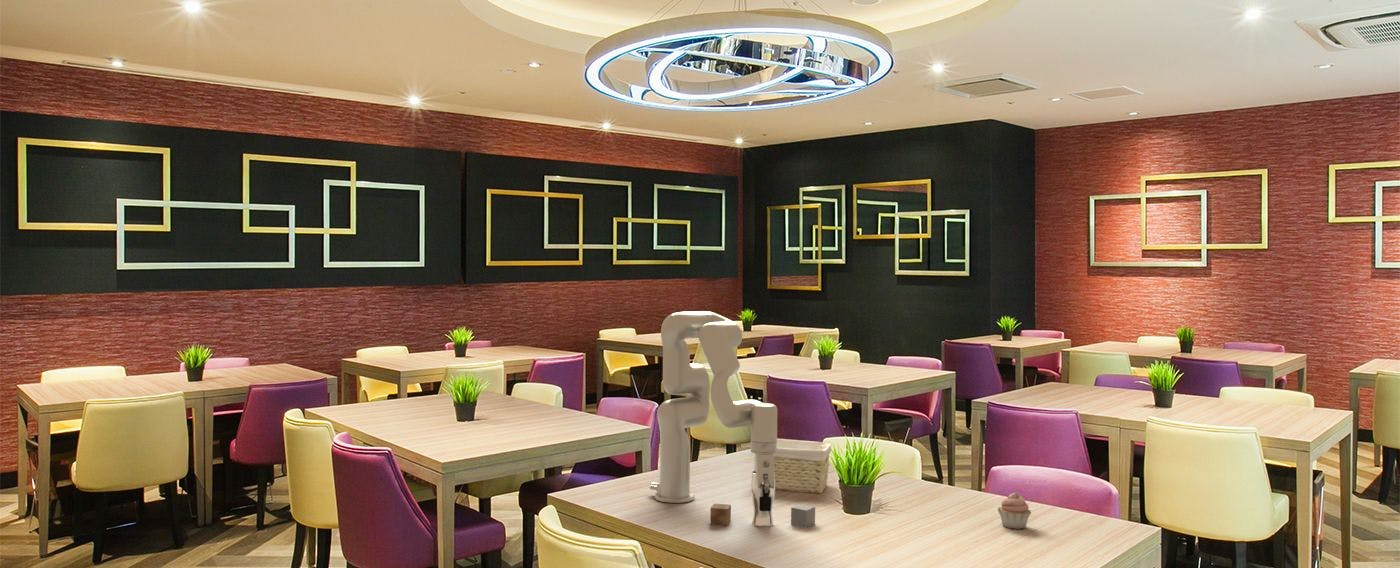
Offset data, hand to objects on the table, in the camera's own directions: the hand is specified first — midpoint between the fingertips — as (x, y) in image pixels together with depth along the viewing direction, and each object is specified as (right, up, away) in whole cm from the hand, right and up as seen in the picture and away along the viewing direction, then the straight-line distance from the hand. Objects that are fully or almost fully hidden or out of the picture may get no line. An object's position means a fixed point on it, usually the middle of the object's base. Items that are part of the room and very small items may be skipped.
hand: (763, 506), depth 262 cm
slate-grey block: (+12, -5, +1) cm, 13 cm away
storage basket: (+13, -5, +46) cm, 48 cm away
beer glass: (0, -5, 0) cm, 5 cm away
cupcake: (+72, -6, +1) cm, 73 cm away
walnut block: (-12, -5, +1) cm, 13 cm away
